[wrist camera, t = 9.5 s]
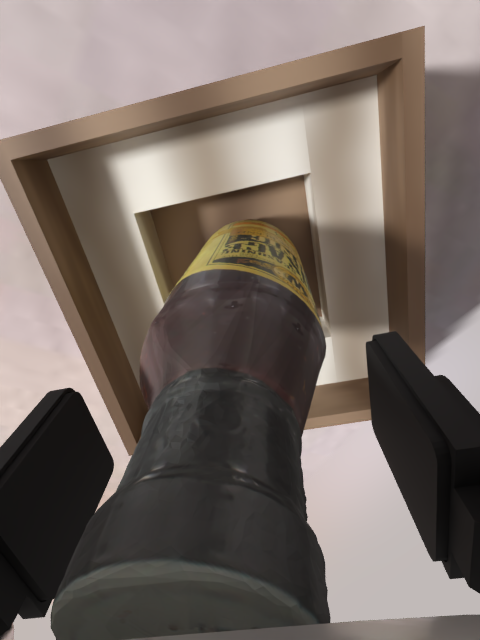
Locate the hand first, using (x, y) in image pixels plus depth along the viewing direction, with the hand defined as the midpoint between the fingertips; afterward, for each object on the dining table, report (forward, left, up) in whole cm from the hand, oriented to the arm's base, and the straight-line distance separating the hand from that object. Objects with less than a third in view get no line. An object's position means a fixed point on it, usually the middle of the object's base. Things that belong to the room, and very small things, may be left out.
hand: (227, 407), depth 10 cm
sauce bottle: (0, 0, -15) cm, 15 cm away
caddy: (0, 0, -15) cm, 15 cm away
